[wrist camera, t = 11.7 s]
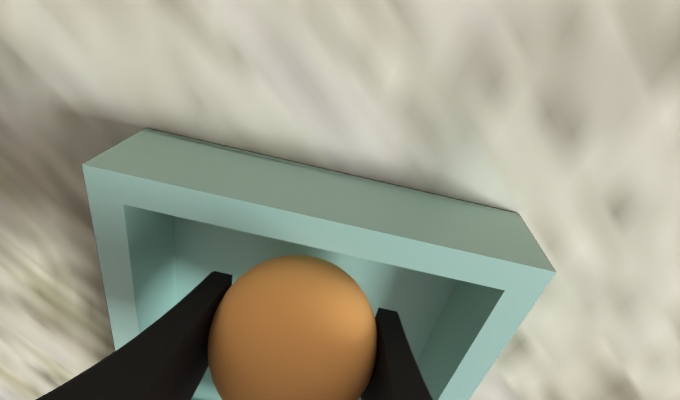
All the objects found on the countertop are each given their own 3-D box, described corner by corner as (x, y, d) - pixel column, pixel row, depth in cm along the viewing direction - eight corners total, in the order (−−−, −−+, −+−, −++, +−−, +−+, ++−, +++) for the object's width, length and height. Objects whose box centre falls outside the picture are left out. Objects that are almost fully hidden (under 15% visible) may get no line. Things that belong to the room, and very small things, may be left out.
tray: (391, 444, 20) (392, 509, 18) (165, 396, 20) (134, 455, 17) (519, 213, 12) (556, 272, 10) (145, 127, 12) (82, 164, 9)
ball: (395, 243, 12) (405, 386, 8) (359, 340, 14) (350, 488, 10) (247, 208, 12) (171, 333, 7) (236, 312, 14) (174, 450, 10)
